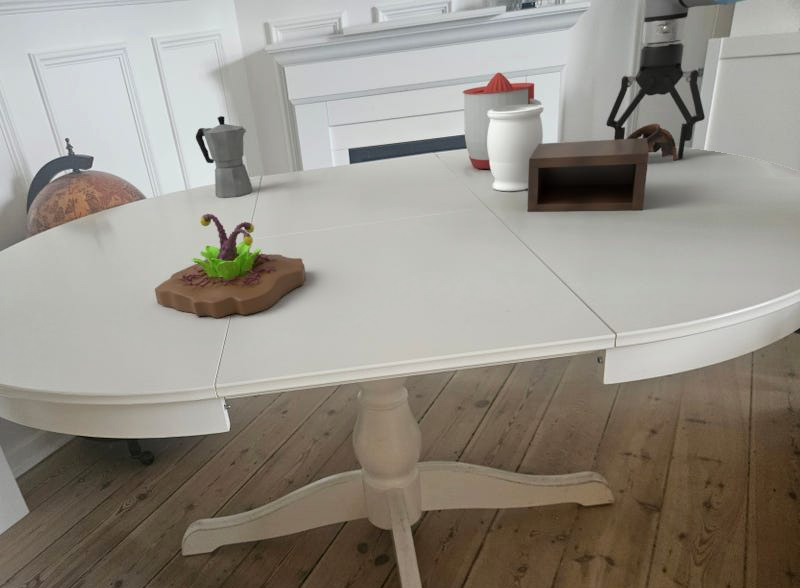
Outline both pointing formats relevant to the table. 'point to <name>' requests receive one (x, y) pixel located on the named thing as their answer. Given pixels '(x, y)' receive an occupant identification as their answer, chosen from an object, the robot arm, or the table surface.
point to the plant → (231, 278)
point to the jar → (513, 144)
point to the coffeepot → (226, 158)
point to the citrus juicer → (481, 102)
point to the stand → (588, 175)
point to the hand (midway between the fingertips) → (649, 158)
